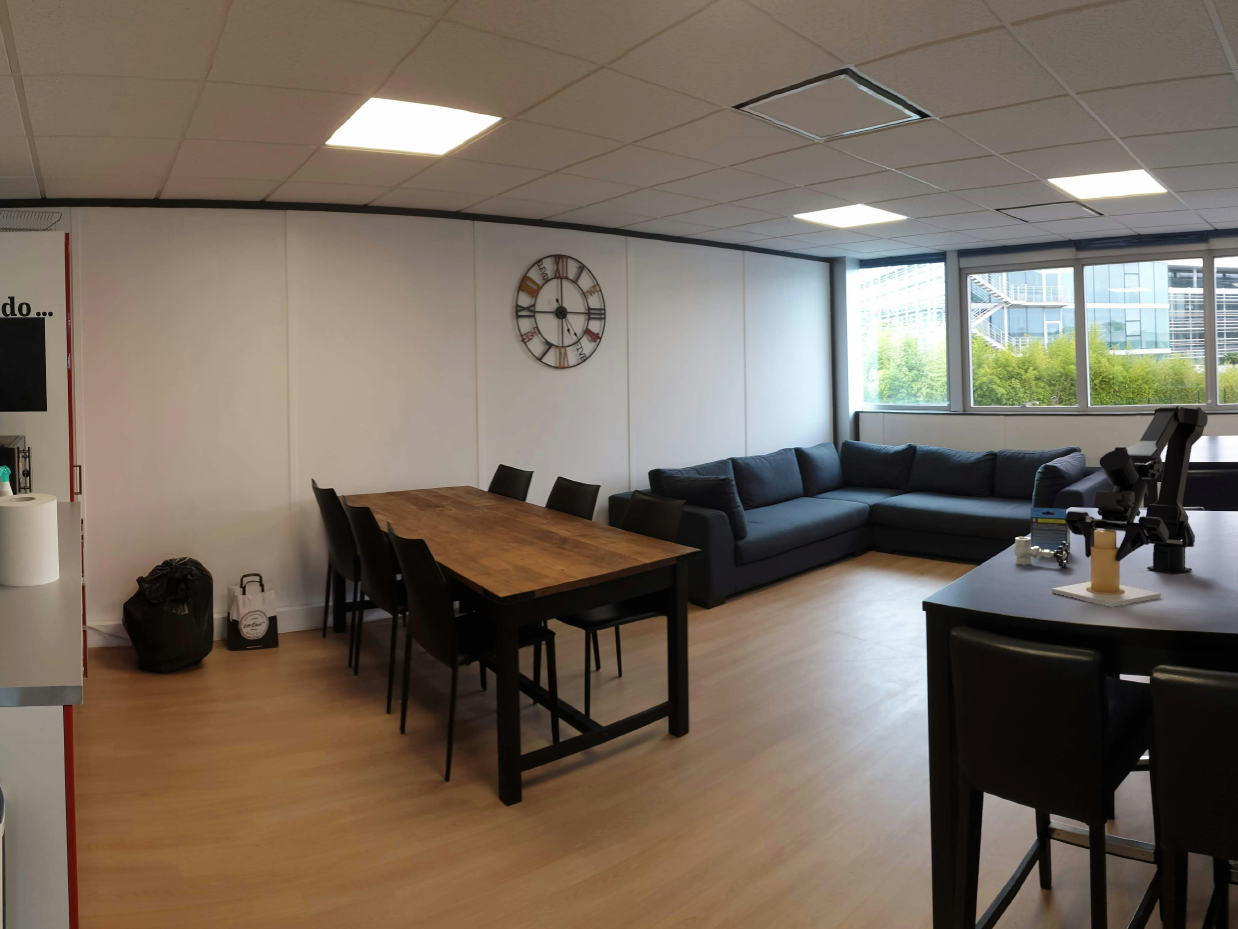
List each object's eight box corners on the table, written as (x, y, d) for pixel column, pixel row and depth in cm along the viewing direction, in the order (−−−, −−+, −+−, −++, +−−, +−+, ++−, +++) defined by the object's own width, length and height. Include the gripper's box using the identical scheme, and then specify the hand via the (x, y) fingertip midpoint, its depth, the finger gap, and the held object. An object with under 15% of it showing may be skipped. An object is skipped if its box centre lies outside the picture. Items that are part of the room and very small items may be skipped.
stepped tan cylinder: (1092, 585, 173) (1092, 528, 172) (1120, 588, 170) (1120, 530, 169) (1089, 591, 168) (1089, 532, 168) (1118, 593, 165) (1118, 533, 165)
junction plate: (1098, 584, 178) (1098, 579, 178) (1160, 598, 165) (1160, 592, 165) (1052, 593, 173) (1051, 587, 173) (1111, 607, 160) (1111, 601, 160)
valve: (1009, 565, 202) (1061, 571, 193) (1009, 539, 201) (1061, 544, 192) (1019, 560, 206) (1070, 566, 197) (1019, 535, 206) (1070, 539, 197)
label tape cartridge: (1071, 553, 212) (1070, 506, 211) (1067, 555, 209) (1067, 508, 208) (1034, 550, 218) (1033, 505, 217) (1030, 552, 215) (1029, 507, 214)
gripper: (1067, 474, 177) (1042, 530, 172) (1163, 478, 162) (1138, 540, 156) (1085, 505, 182) (1061, 560, 177) (1179, 512, 167) (1156, 573, 162)
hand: (1101, 558), depth 168 cm, fingers open, 6 cm apart
